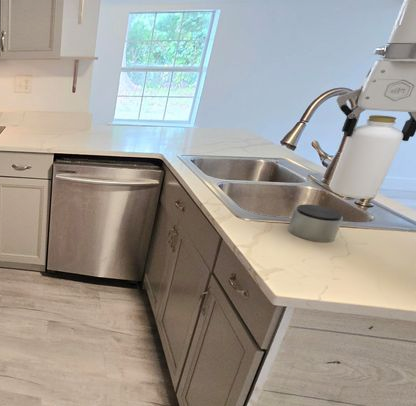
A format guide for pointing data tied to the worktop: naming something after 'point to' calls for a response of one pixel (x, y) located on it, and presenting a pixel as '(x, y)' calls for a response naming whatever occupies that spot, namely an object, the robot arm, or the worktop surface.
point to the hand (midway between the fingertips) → (374, 137)
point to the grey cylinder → (315, 223)
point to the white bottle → (366, 158)
